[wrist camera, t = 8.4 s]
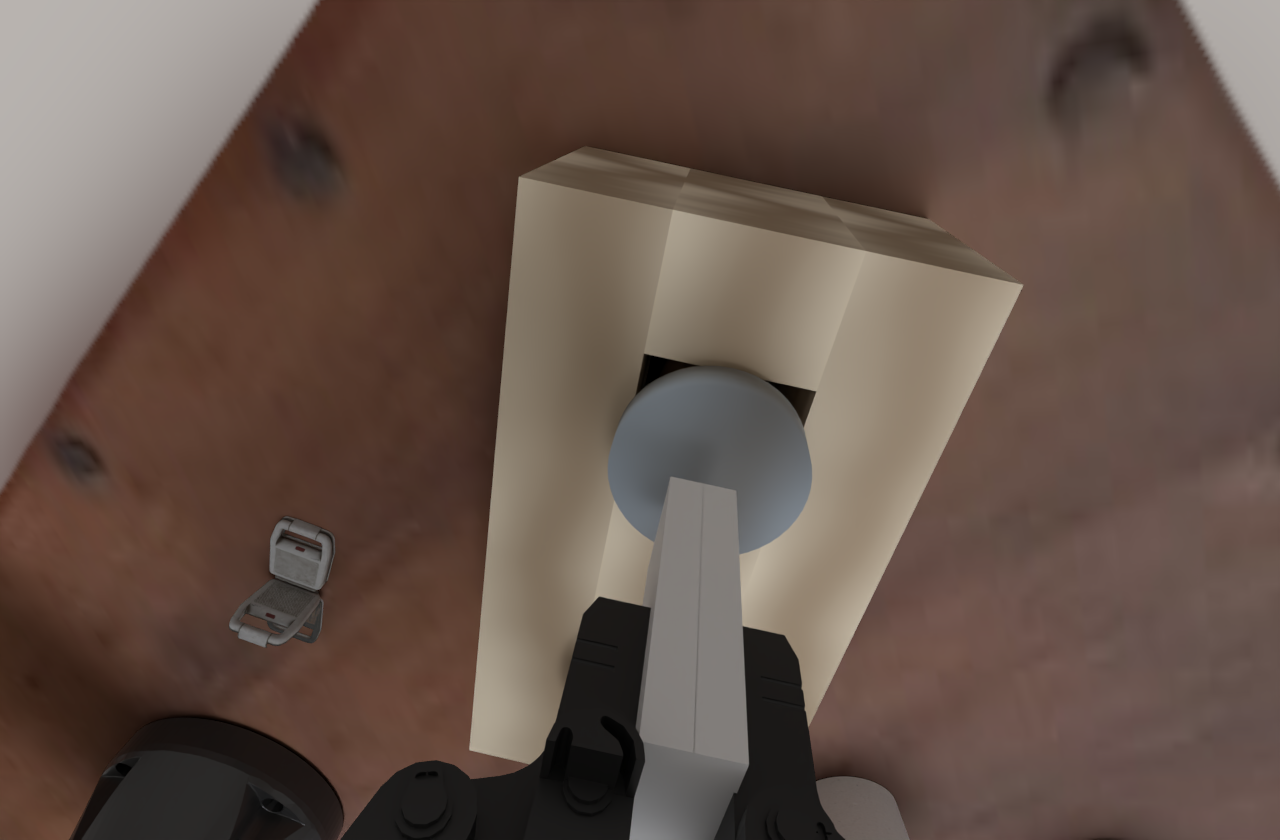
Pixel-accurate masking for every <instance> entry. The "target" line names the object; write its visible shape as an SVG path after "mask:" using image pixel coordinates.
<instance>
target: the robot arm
mask: <svg viewBox="0 0 1280 840" xmlns="http://www.w3.org/2000/svg"><path fill="white" fill-rule="evenodd" d="M342 826H343V814H342V809H341V806H340V803H339V801H338V799H337V797H336V795H335V794H334V792H333V790H332V789H331V788H330V786H329V785H328V784H327V782H326V781H325V780H324V779H323V778H322V777H321V776H320V775H319V774H318V773H317V772H316V771H315V770H314V769H313V768H312V767H311V766H310V765H308V764H307V763H306V762H305V761H303V760H302V759H301V758H299V757H298V756H297V755H295V754H294V753H292V752H291V751H289V750H287V749H286V748H284V747H282V746H281V745H279V744H277V743H275V742H273V741H271V740H269V739H267V738H265V737H263V736H261V735H258V734H256V733H254V732H251V731H249V730H246V729H243V728H240V727H237V726H234V725H230V724H227V723H223V722H218V721H213V720H208V719H200V718H169V719H163V720H159V721H155V722H153V723H150V724H148V725H146V726H144V727H143V728H141V729H140V730H139V731H137V732H136V733H135V734H134V736H133V737H132V738H131V739H130V740H129V741H128V742H127V743H126V744H125V745H124V747H123V748H122V749H121V750H120V751H119V752H118V753H117V754H116V755H115V757H114V758H113V759H112V760H111V761H110V763H109V764H108V766H107V767H106V768H105V770H104V772H103V774H102V776H101V778H100V780H99V782H98V784H97V786H96V788H95V790H94V792H93V794H92V796H91V798H90V800H89V802H88V804H87V806H86V808H85V810H84V812H83V814H82V816H81V818H80V820H79V822H78V824H77V825H76V827H75V829H74V831H73V833H72V835H71V837H70V839H69V840H337V838H338V836H339V834H340V832H341V830H342ZM341 840H845V839H844V838H843V837H842V836H841V835H840V834H839V833H838V832H837V830H836V829H835V826H834V824H833V822H832V821H831V819H830V818H829V816H828V815H827V814H826V812H825V811H824V809H823V807H822V805H821V803H820V799H819V795H818V791H817V785H816V778H815V771H814V764H813V757H812V750H811V743H810V736H809V729H808V722H807V715H806V711H805V701H804V694H803V690H802V679H801V672H800V665H799V659H798V657H797V656H796V654H795V652H794V651H793V649H792V647H791V645H790V644H789V642H788V640H787V638H786V637H785V635H782V634H777V633H772V632H768V631H763V630H759V629H754V628H749V627H745V626H743V624H742V603H741V581H740V560H739V538H738V517H737V495H736V490H731V489H726V488H722V487H717V486H713V485H708V484H703V483H699V482H694V481H689V480H685V479H680V478H676V477H670V481H669V485H668V489H667V493H666V497H665V501H664V505H663V509H662V513H661V517H660V521H659V525H658V530H657V534H656V538H655V542H654V546H653V550H652V554H651V558H650V562H649V566H648V571H647V578H646V584H645V591H644V598H643V605H642V606H641V605H636V604H631V603H627V602H622V601H618V600H613V599H608V598H604V597H598V598H597V599H596V600H595V601H594V602H593V604H592V605H591V606H590V607H589V608H588V609H587V610H586V611H585V612H584V614H583V616H582V620H581V624H580V627H579V631H578V635H577V640H576V643H575V647H574V651H573V655H572V659H571V663H570V667H569V671H568V674H567V678H566V682H565V686H564V690H563V694H562V698H561V702H560V706H559V710H558V714H557V718H556V721H555V723H554V725H553V727H552V729H551V731H550V733H549V735H548V737H547V739H546V743H545V749H544V751H543V752H542V754H541V755H540V756H539V757H538V758H537V759H536V760H535V761H534V762H532V763H531V764H530V765H529V766H527V767H525V768H523V769H521V770H519V771H517V772H515V773H510V774H506V775H502V776H496V777H487V778H479V779H471V780H470V778H469V776H468V775H466V774H465V773H464V772H463V771H461V770H460V769H459V768H458V767H456V766H455V765H452V764H448V763H444V762H441V761H437V760H435V761H426V762H418V763H414V764H412V765H410V766H408V767H406V768H404V769H402V770H400V771H398V772H396V773H395V774H394V775H393V776H392V777H391V778H390V779H389V780H388V781H387V782H386V783H385V784H383V785H382V786H381V787H380V789H379V790H378V791H377V793H376V794H375V795H374V796H373V798H372V799H371V800H370V802H369V803H368V804H367V806H366V807H365V808H364V810H363V811H362V812H361V813H360V815H359V816H358V817H357V819H356V820H355V821H354V823H353V824H352V825H351V826H350V828H349V829H348V830H347V832H346V833H345V834H344V836H343V837H342V838H341Z"/></svg>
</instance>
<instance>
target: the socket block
mask: <svg viewBox="0 0 1280 840" xmlns="http://www.w3.org/2000/svg"><path fill="white" fill-rule="evenodd" d="M1022 287H1023V284H1022V283H1020V282H1019V281H1017V280H1016V279H1014V278H1013V277H1011V276H1010V275H1009V274H1007V273H1006V272H1004V271H1003V270H1001V269H1000V268H998V267H997V266H996V265H994V264H993V263H991V262H990V261H988V260H987V259H985V258H984V257H983V256H981V255H980V254H978V253H977V252H975V251H974V250H973V249H971V248H970V247H968V246H967V245H965V244H964V243H962V242H961V241H960V240H958V239H957V238H955V237H954V236H952V235H951V234H949V233H948V232H947V231H945V230H944V229H942V228H941V227H939V226H938V225H936V224H935V223H934V222H932V221H931V220H929V219H926V218H921V217H916V216H912V215H907V214H902V213H898V212H893V211H888V210H884V209H879V208H874V207H869V206H865V205H860V204H855V203H851V202H846V201H841V200H837V199H832V198H827V197H823V196H818V195H813V194H808V193H804V192H799V191H794V190H790V189H785V188H780V187H776V186H771V185H766V184H761V183H757V182H752V181H747V180H743V179H738V178H733V177H729V176H724V175H719V174H714V173H710V172H705V171H700V170H696V169H691V168H686V167H682V166H677V165H672V164H668V163H663V162H658V161H653V160H649V159H644V158H639V157H635V156H630V155H625V154H621V153H616V152H611V151H606V150H602V149H597V148H592V147H588V146H584V147H582V148H580V149H578V150H576V151H573V152H571V153H569V154H567V155H565V156H563V157H560V158H558V159H556V160H554V161H552V162H550V163H547V164H545V165H543V166H541V167H539V168H537V169H535V170H532V171H530V172H528V173H526V174H524V175H522V176H519V181H518V193H517V204H516V216H515V227H514V239H513V251H512V262H511V274H510V285H509V297H508V308H507V320H506V332H505V343H504V355H503V366H502V378H501V390H500V401H499V413H498V424H497V436H496V448H495V459H494V471H493V482H492V494H491V505H490V517H489V529H488V540H487V552H486V563H485V575H484V587H483V598H482V610H481V621H480V633H479V645H478V656H477V668H476V679H475V691H474V703H473V714H472V726H471V737H470V749H469V750H471V751H475V752H480V753H484V754H488V755H493V756H497V757H501V758H505V759H510V760H514V761H518V762H523V763H527V764H531V763H532V762H534V761H535V760H536V759H537V758H538V757H539V756H540V755H541V754H542V752H543V751H544V749H545V743H546V739H547V737H548V735H549V733H550V731H551V729H552V727H553V725H554V723H555V721H556V718H557V714H558V710H559V706H560V702H561V698H562V694H563V690H564V686H565V682H566V678H567V674H568V671H569V667H570V663H571V659H572V655H573V651H574V647H575V643H576V640H577V635H578V631H579V627H580V624H581V620H582V616H583V614H584V612H585V611H586V610H587V609H588V608H589V607H590V606H591V605H592V604H593V602H594V601H595V600H596V599H597V598H598V597H604V598H608V599H613V600H618V601H622V602H627V603H631V604H636V605H641V606H642V605H643V598H644V591H645V584H646V578H647V571H648V566H649V562H650V558H651V554H652V550H653V546H654V542H653V541H651V540H650V539H648V538H647V537H645V536H644V535H642V534H641V533H640V532H639V531H638V530H636V529H635V528H634V527H633V526H632V525H631V524H630V523H629V522H628V520H627V519H626V518H625V517H624V515H623V514H622V512H621V511H620V510H619V508H618V506H617V504H616V502H615V500H614V498H613V495H612V492H611V489H610V485H609V480H608V459H609V453H610V450H611V446H612V443H613V439H614V436H615V433H616V430H617V427H618V424H619V421H620V419H621V417H622V414H623V412H624V411H625V409H626V407H627V406H628V404H629V403H630V402H631V400H632V399H633V398H634V397H635V396H636V395H637V394H638V393H639V392H640V391H641V390H642V389H643V388H644V387H646V386H647V385H648V384H649V383H646V379H647V374H648V370H649V365H650V360H651V355H653V356H657V357H662V358H666V359H671V360H676V361H680V362H685V363H689V364H694V365H698V366H723V367H729V368H734V369H738V370H741V371H745V372H748V373H750V374H752V375H755V376H757V377H759V378H761V379H762V380H767V381H768V383H769V384H771V385H772V386H773V387H775V388H776V389H777V390H778V391H780V392H781V393H782V394H783V395H784V396H785V397H786V398H787V399H788V401H789V402H790V403H791V405H792V406H793V407H794V409H795V410H796V412H797V414H798V416H799V418H800V420H801V422H802V425H803V428H804V431H805V435H806V439H807V444H808V449H809V453H810V458H811V463H812V484H811V490H810V493H809V497H808V500H807V502H806V504H805V506H804V508H803V511H802V512H801V514H800V515H799V517H798V518H797V520H796V521H795V522H794V523H793V524H792V525H791V526H790V527H789V529H787V530H786V531H785V532H784V533H783V534H782V535H781V536H779V537H778V538H776V539H775V540H773V541H772V542H770V543H768V544H766V545H764V546H762V547H760V548H758V549H756V550H753V551H750V552H748V553H744V554H740V555H739V560H740V581H741V603H742V624H743V626H745V627H749V628H754V629H759V630H763V631H768V632H772V633H777V634H782V635H785V637H786V638H787V640H788V642H789V644H790V645H791V647H792V649H793V651H794V652H795V654H796V656H797V657H798V659H799V665H800V672H801V679H802V690H803V694H804V701H805V711H806V715H807V722H808V727H809V725H810V723H811V721H812V719H813V717H814V715H815V713H816V711H817V709H818V707H819V704H820V702H821V700H822V698H823V696H824V694H825V692H826V690H827V688H828V686H829V684H830V682H831V680H832V678H833V676H834V674H835V672H836V670H837V667H838V665H839V663H840V661H841V659H842V657H843V655H844V653H845V651H846V649H847V647H848V645H849V643H850V641H851V639H852V637H853V635H854V633H855V630H856V628H857V626H858V624H859V622H860V620H861V618H862V616H863V614H864V612H865V610H866V608H867V606H868V604H869V602H870V600H871V598H872V596H873V593H874V591H875V589H876V587H877V585H878V583H879V581H880V579H881V577H882V575H883V573H884V571H885V569H886V567H887V565H888V563H889V561H890V559H891V556H892V554H893V552H894V550H895V548H896V546H897V544H898V542H899V540H900V538H901V536H902V534H903V532H904V530H905V528H906V526H907V524H908V522H909V519H910V517H911V515H912V513H913V511H914V509H915V507H916V505H917V503H918V501H919V499H920V497H921V495H922V493H923V491H924V489H925V487H926V485H927V482H928V480H929V478H930V476H931V474H932V472H933V470H934V468H935V466H936V464H937V462H938V460H939V458H940V456H941V454H942V452H943V450H944V448H945V445H946V443H947V441H948V439H949V437H950V435H951V433H952V431H953V429H954V427H955V425H956V423H957V421H958V419H959V417H960V415H961V413H962V411H963V408H964V406H965V404H966V402H967V400H968V398H969V396H970V394H971V392H972V390H973V388H974V386H975V384H976V382H977V380H978V378H979V376H980V374H981V371H982V369H983V367H984V365H985V363H986V361H987V359H988V357H989V355H990V353H991V351H992V349H993V347H994V345H995V343H996V341H997V339H998V337H999V334H1000V332H1001V330H1002V328H1003V326H1004V324H1005V322H1006V320H1007V318H1008V316H1009V314H1010V312H1011V310H1012V308H1013V306H1014V304H1015V302H1016V300H1017V297H1018V295H1019V293H1020V291H1021V289H1022Z"/></svg>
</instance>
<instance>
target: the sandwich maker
mask: <svg viewBox="0 0 1280 840" xmlns="http://www.w3.org/2000/svg"><path fill="white" fill-rule="evenodd" d="M285 530H289V531H291V532H294V533H297V534H299V535H302V536H305V537H308V538H310V539H313V540H316V541H318V542H320V543H321V544H322V547H320V546H317V545H314V544H312V543H309V542H306V541H304V540H301V539H298V538H295V537H293V536H290V535H287V534H284V532H285ZM334 555H335V538H334V535H333V534H332V533H331V532H329V531H327V530H324V529H322V528H320V527H318V526H315V525H312V524H310V523H307V522H304V521H301V520H299V519H295V518H292V517H288V516H286V517H284V518H283V519H282V520H280V521H279V522H278V524H277V525H276V526H275V529H274V531H273V534H272V536H271V539H270V572H271V573H272V574H274V575H276V576H275V578H278V579H279V580H277V579H271V580H270V581H268V582H267V583H266V584H265V585H264V586H262V587H261V588H260V589H259V590H258V591H256V592H255V593H254V594H253V595H252V596H250V597H249V598H248V599H247V600H246V601H244V602H243V603H242V604H241V605H240V606H239V608H238V609H237V611H236V612H235V614H234V615H233V617H232V618H231V620H230V624H229V628H230V629H231V630H232V631H234V632H237V633H238V638H240V639H243V640H246V641H249V642H251V643H254V644H257V645H260V646H263V647H267V646H266V645H267V643H268V644H271V645H275V646H279V645H282V644H284V643H286V642H287V641H288V640H289V639H291V638H292V637H293V638H296V639H299V640H302V641H304V642H307V643H314V642H315V641H316V639H317V638H318V636H319V633H320V631H321V626H322V614H323V600H322V599H320V596H319V592H318V591H316V590H319V589H321V588H322V586H323V585H324V584H325V583H326V581H327V580H328V577H329V573H330V570H331V566H332V562H333V558H334ZM245 614H249V615H252V616H255V617H257V618H260V619H263V620H266V621H267V624H268V626H269V628H270V629H272V630H274V631H276V632H279V633H282V634H279V635H277V634H273V633H270V632H267V631H264V630H262V629H259V628H256V627H253V626H250V625H248V624H245V623H242V622H240V620H241V619H242V617H243V616H244V615H245ZM279 625H280V626H279ZM282 626H283V627H282ZM302 626H305V627H308V628H311V629H313V632H312V635H311V636H308V635H304V634H302V633H299V630H300V629H301V628H302Z"/></svg>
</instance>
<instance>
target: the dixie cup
mask: <svg viewBox="0 0 1280 840" xmlns="http://www.w3.org/2000/svg"><path fill="white" fill-rule="evenodd" d="M816 785H817V791H818V795H819V799H820V803H821V805H822V807H823V809H824V811H825V812H826V814H827V815H828V816H829V818H830V819H831V821H832V822H833V824H834V826H835V829H836V830H837V832H838V833H839V834H840V835H841V836H842V837H843V838H844V839H845V840H910V839H909V836H908V834H907V831H906V828H905V825H904V823H903V820H902V817H901V814H900V812H899V809H898V806H897V803H896V801H895V799H894V797H893V795H892V794H891V793H890V792H889V791H888V790H887V789H885V788H884V787H882V786H881V785H879V784H877V783H875V782H872V781H870V780H866V779H863V778H857V777H848V776H839V777H830V778H825V779H822V780H818V781H816Z"/></svg>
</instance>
